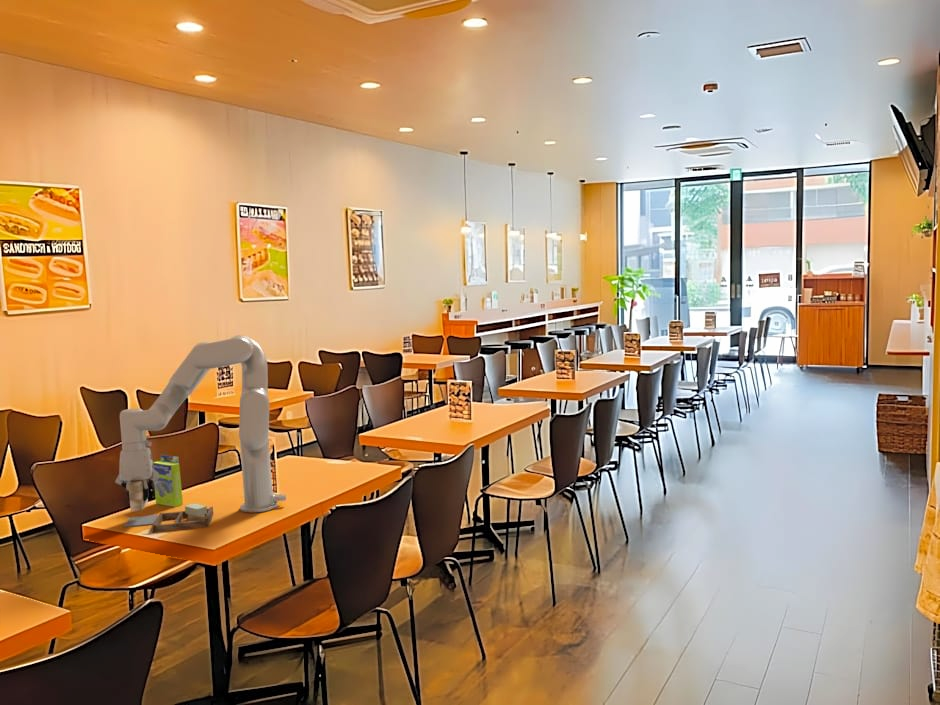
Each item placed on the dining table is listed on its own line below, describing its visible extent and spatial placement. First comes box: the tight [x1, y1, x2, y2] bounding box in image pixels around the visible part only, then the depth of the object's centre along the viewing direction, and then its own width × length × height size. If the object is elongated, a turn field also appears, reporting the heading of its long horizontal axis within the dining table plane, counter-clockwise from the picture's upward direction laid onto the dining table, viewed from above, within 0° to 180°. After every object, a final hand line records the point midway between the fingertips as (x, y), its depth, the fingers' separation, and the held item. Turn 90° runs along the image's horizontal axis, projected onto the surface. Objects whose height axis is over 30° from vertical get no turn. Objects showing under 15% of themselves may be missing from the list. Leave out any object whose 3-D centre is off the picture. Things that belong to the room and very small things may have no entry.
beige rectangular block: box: [128, 480, 149, 512], centre depth 263 cm, size 4×10×9 cm, turn 12°
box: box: [153, 454, 184, 508], centre depth 282 cm, size 10×4×17 cm, turn 58°
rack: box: [151, 506, 214, 533], centre depth 260 cm, size 17×14×2 cm
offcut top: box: [184, 503, 208, 517], centre depth 261 cm, size 4×7×2 cm, turn 52°
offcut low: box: [187, 514, 206, 522], centre depth 261 cm, size 4×9×3 cm, turn 25°
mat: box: [123, 514, 159, 528], centre depth 264 cm, size 9×10×1 cm
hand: (138, 499), depth 263 cm, fingers closed on beige rectangular block, 3 cm apart
